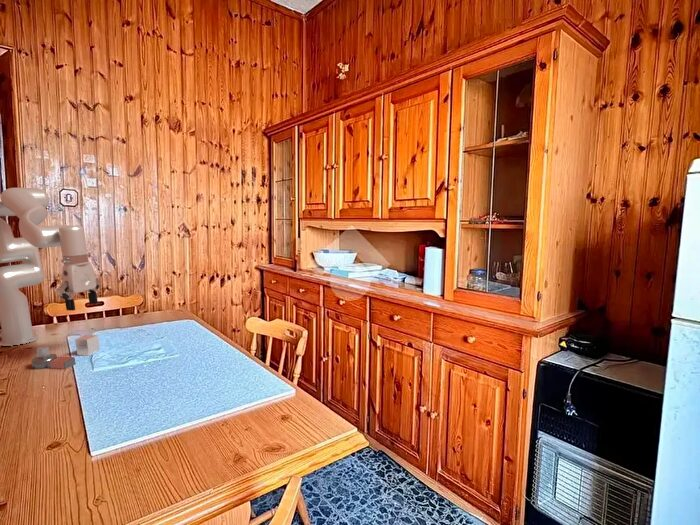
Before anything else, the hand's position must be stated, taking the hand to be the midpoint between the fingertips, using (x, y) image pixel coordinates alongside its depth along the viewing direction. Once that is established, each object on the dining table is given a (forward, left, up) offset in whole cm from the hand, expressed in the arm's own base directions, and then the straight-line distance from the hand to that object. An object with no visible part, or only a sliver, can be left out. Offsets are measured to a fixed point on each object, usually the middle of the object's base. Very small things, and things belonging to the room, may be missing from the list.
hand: (82, 306), depth 146 cm
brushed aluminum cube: (0, 0, -18) cm, 18 cm away
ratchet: (-3, -12, -18) cm, 22 cm away
